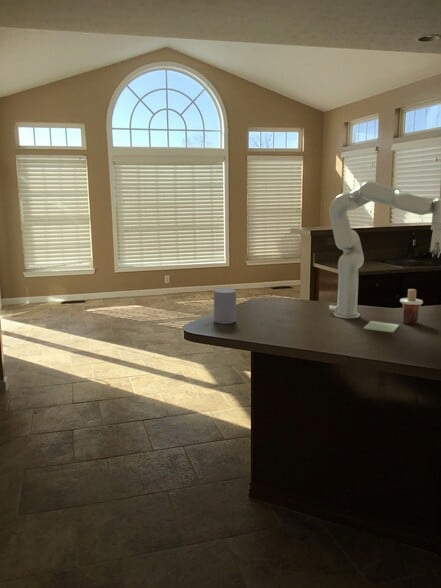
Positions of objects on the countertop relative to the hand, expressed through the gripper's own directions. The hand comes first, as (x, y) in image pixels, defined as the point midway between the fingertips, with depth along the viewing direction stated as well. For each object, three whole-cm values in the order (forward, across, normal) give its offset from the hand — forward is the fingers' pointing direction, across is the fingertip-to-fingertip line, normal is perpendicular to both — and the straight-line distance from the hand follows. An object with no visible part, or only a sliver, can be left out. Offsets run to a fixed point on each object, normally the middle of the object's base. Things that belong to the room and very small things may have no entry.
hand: (436, 264), depth 235 cm
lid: (+19, 0, -9) cm, 21 cm away
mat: (+29, +13, -19) cm, 37 cm away
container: (+30, +40, -86) cm, 99 cm away
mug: (+29, 0, -9) cm, 30 cm away
